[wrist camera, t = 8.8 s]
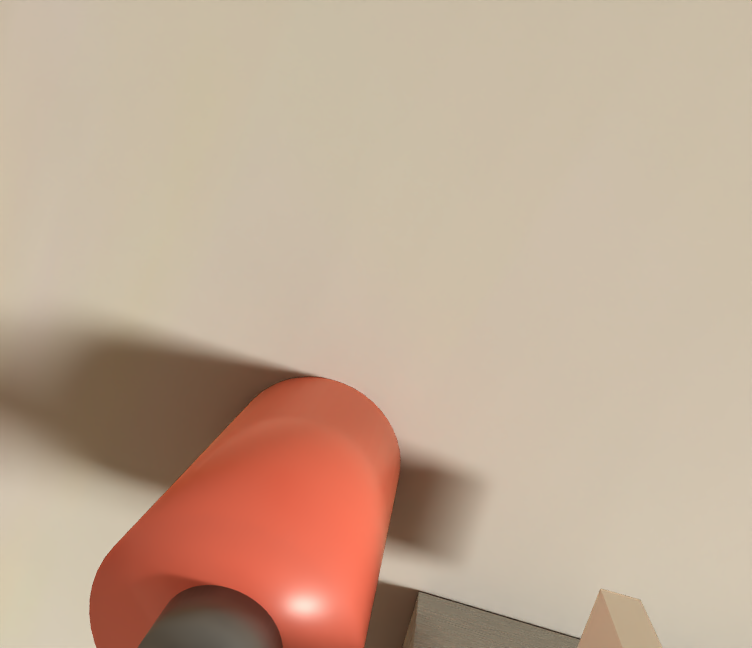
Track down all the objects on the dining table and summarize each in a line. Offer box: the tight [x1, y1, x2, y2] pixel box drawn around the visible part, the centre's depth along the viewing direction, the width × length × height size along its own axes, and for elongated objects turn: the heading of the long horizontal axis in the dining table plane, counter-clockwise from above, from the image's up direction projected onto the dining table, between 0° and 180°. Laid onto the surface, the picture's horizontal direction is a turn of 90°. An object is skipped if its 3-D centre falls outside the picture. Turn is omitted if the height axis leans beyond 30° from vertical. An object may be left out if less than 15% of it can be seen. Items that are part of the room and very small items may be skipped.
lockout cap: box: [89, 377, 401, 648], centre depth 11 cm, size 4×4×7 cm
